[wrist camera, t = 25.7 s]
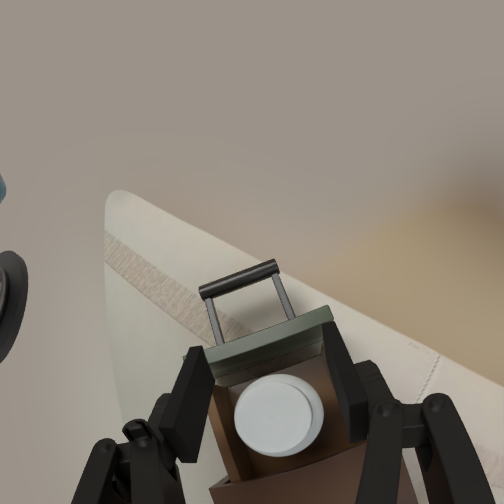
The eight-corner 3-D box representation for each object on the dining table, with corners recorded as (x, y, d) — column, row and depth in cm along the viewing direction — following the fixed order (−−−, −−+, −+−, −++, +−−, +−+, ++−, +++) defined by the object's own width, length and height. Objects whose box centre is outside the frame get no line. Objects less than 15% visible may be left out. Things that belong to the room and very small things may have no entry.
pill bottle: (329, 392, 21) (341, 383, 13) (307, 450, 19) (303, 478, 11) (268, 373, 23) (242, 354, 15) (245, 430, 21) (205, 442, 13)
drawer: (192, 309, 29) (167, 286, 24) (299, 269, 29) (296, 237, 24) (247, 490, 19) (230, 510, 14) (374, 448, 19) (391, 459, 14)
